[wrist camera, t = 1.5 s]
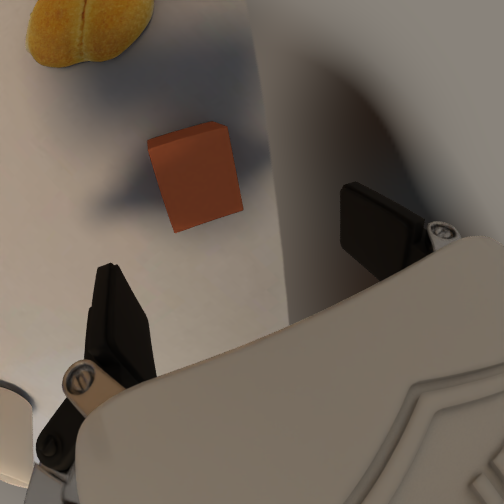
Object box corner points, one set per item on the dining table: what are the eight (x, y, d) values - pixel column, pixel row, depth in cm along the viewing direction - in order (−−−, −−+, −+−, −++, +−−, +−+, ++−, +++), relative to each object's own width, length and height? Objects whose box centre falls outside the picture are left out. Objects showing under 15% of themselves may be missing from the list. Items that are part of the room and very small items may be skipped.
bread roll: (146, 59, 15) (147, 50, 12) (31, 76, 11) (8, 74, 8) (162, -33, 10) (168, -56, 7) (48, -17, 7) (33, -34, 4)
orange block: (212, 120, 19) (227, 126, 16) (227, 191, 22) (244, 210, 19) (147, 140, 18) (147, 149, 15) (168, 211, 21) (174, 233, 18)
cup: (44, 407, 27) (47, 491, 16) (11, 409, 25) (10, 485, 14) (9, 375, 22) (2, 470, 11) (-22, 380, 20) (-32, 463, 9)
